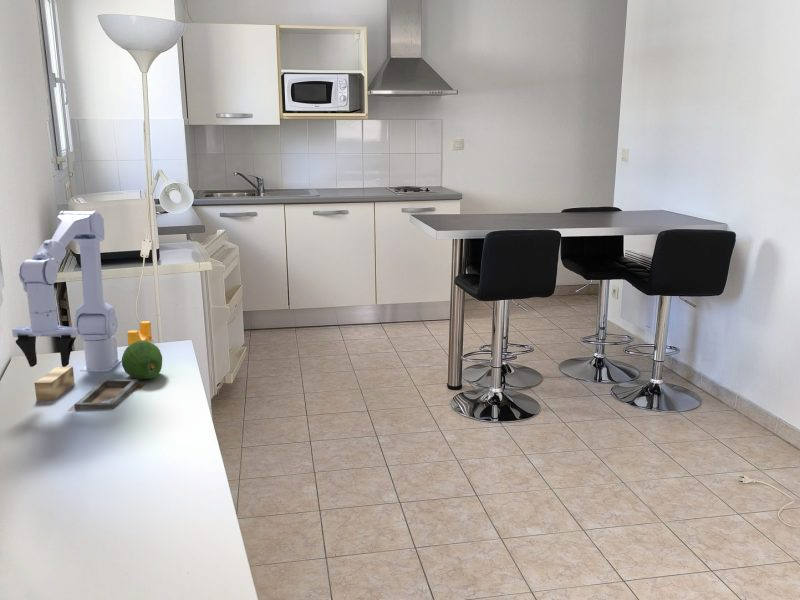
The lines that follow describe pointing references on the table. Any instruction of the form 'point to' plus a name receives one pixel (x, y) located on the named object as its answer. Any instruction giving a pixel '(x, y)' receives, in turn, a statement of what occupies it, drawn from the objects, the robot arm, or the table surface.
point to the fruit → (142, 360)
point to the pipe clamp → (140, 333)
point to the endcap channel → (107, 394)
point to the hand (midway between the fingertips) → (49, 365)
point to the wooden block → (54, 383)
